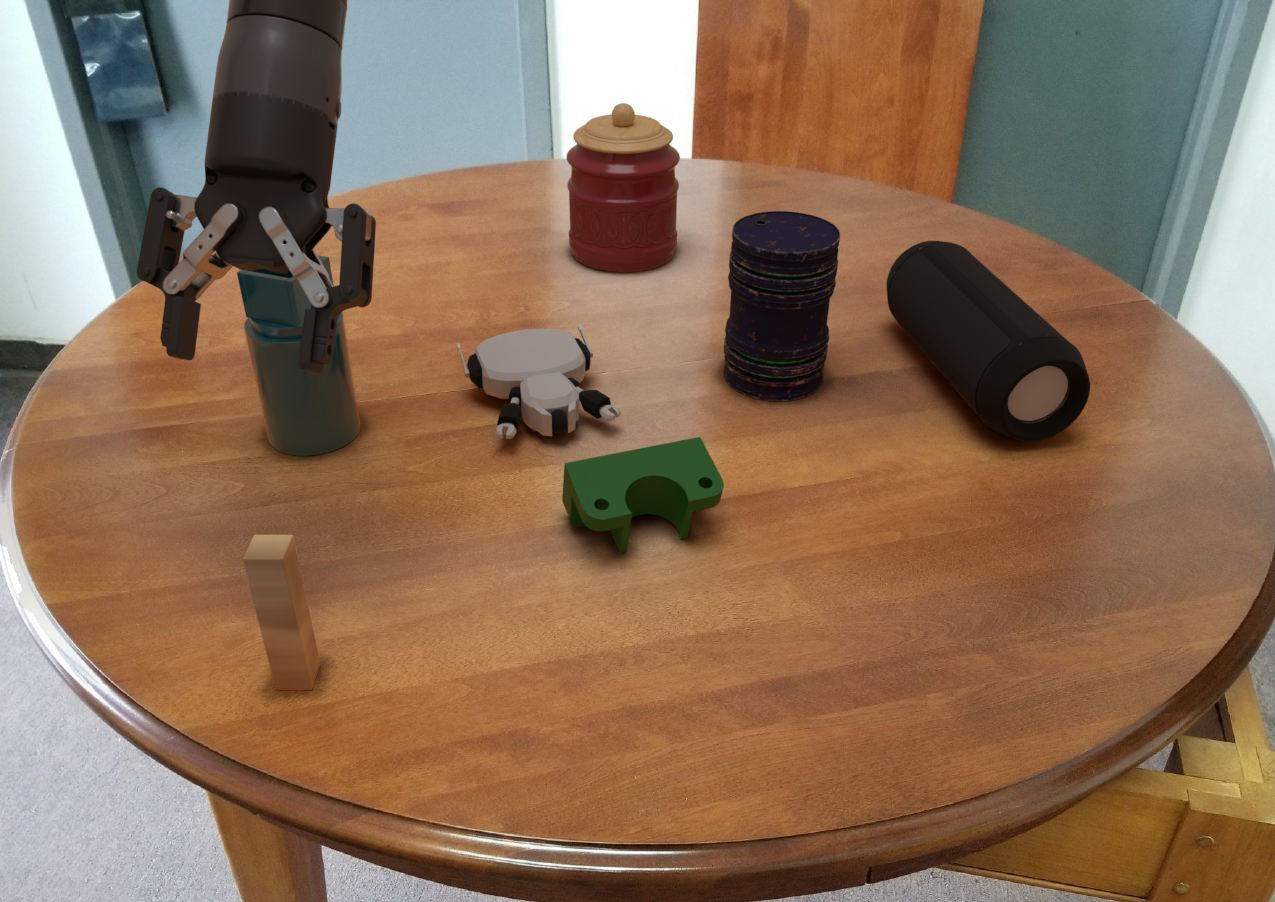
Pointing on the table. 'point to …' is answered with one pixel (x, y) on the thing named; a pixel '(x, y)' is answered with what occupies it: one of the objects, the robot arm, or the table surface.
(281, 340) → the bottle
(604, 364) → the table surface
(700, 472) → the clamp
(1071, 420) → the portable speaker
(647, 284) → the table surface
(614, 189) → the kitchen canister
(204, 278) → the robot arm
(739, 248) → the dark blue cylinder
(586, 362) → the robot toy
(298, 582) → the stick
